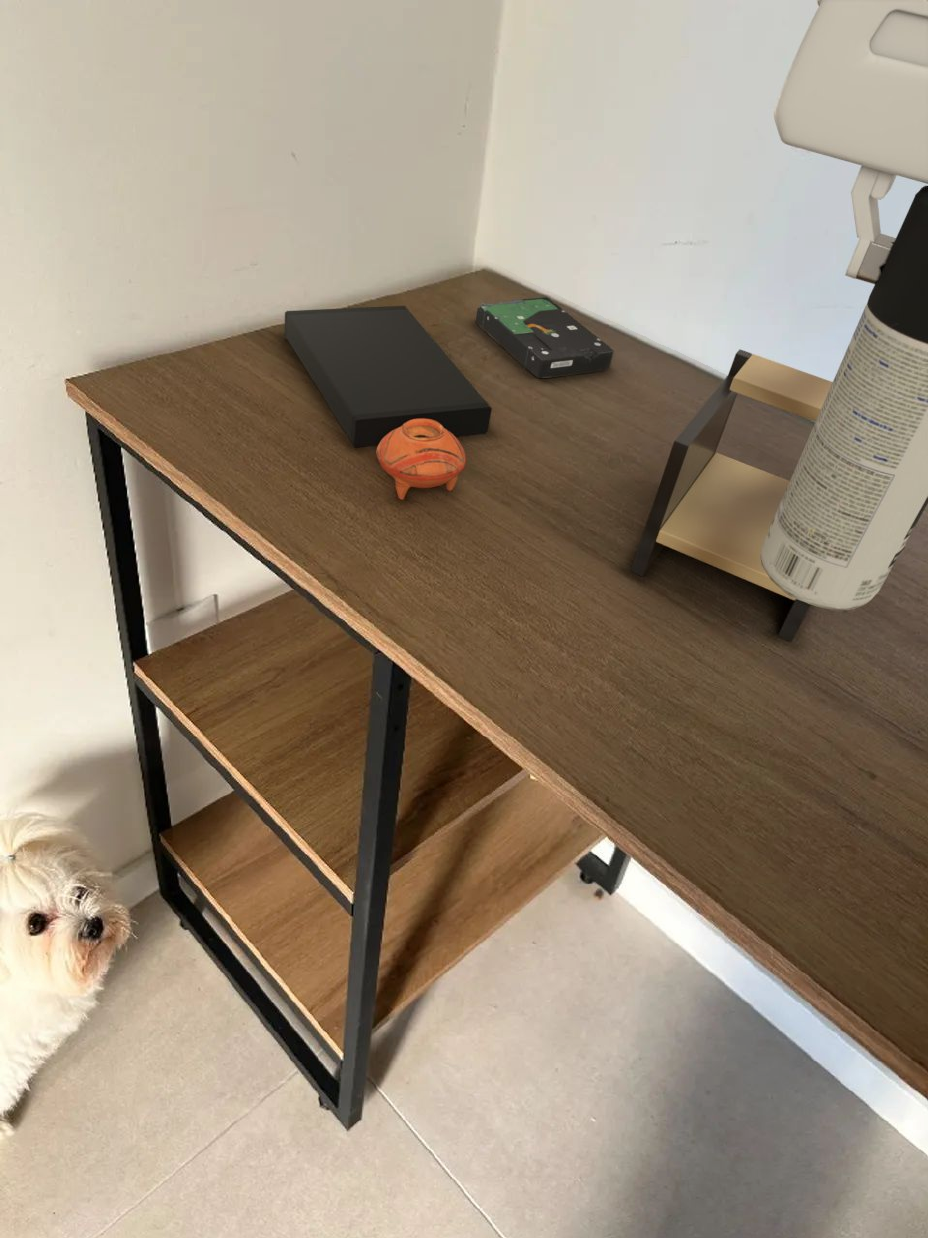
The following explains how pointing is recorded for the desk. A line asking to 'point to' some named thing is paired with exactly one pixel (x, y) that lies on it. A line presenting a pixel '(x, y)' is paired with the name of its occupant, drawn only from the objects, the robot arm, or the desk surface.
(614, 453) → the desk surface
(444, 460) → the pot
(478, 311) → the disk drive
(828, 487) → the spray can
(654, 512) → the shelf
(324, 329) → the external hard drive
